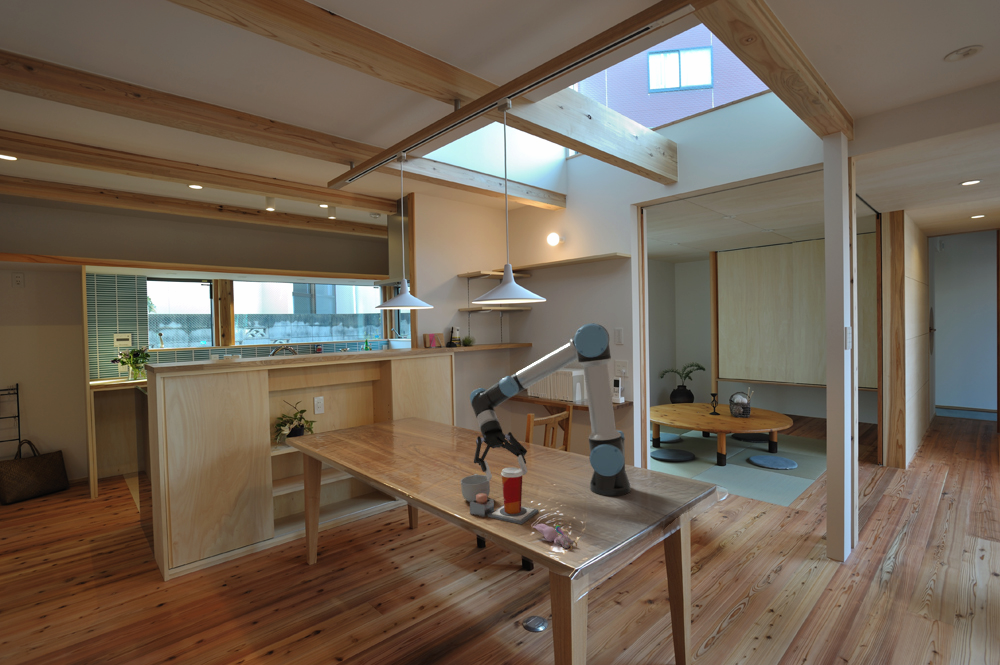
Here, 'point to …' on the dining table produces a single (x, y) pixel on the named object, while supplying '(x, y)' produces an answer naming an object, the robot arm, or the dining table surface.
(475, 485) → the teacup
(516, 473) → the paper cup
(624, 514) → the dining table surface
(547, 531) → the pink unicorn toy
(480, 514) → the button housing
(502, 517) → the board
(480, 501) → the button
